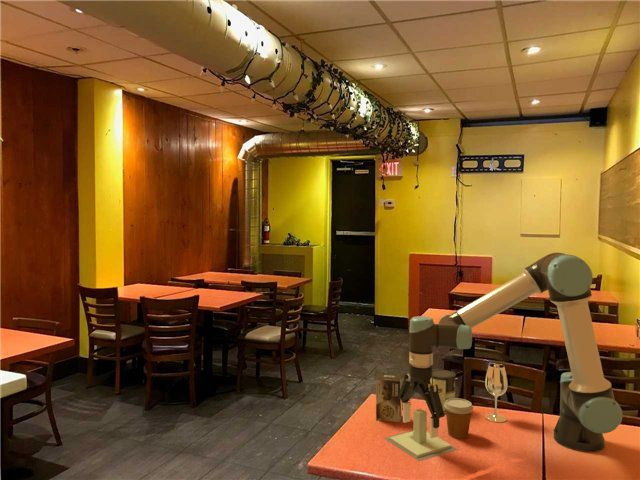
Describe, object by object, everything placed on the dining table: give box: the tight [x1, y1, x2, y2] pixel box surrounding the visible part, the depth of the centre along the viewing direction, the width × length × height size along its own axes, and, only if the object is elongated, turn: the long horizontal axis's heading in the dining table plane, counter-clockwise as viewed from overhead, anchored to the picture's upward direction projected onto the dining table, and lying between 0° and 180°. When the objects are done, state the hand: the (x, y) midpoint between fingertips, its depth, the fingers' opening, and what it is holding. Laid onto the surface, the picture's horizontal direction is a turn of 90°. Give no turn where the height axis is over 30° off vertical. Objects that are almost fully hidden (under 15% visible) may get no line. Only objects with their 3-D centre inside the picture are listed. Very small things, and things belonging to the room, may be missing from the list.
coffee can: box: [430, 369, 457, 415], centre depth 195 cm, size 10×10×14 cm
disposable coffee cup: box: [444, 397, 474, 440], centre depth 170 cm, size 10×10×12 cm
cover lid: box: [389, 408, 452, 457], centre depth 163 cm, size 14×14×11 cm
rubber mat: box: [383, 430, 459, 462], centre depth 163 cm, size 18×16×1 cm
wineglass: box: [484, 363, 508, 423], centre depth 186 cm, size 8×8×20 cm
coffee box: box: [375, 373, 402, 423], centre depth 184 cm, size 9×6×16 cm
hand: (419, 429), depth 163 cm, fingers open, 13 cm apart
